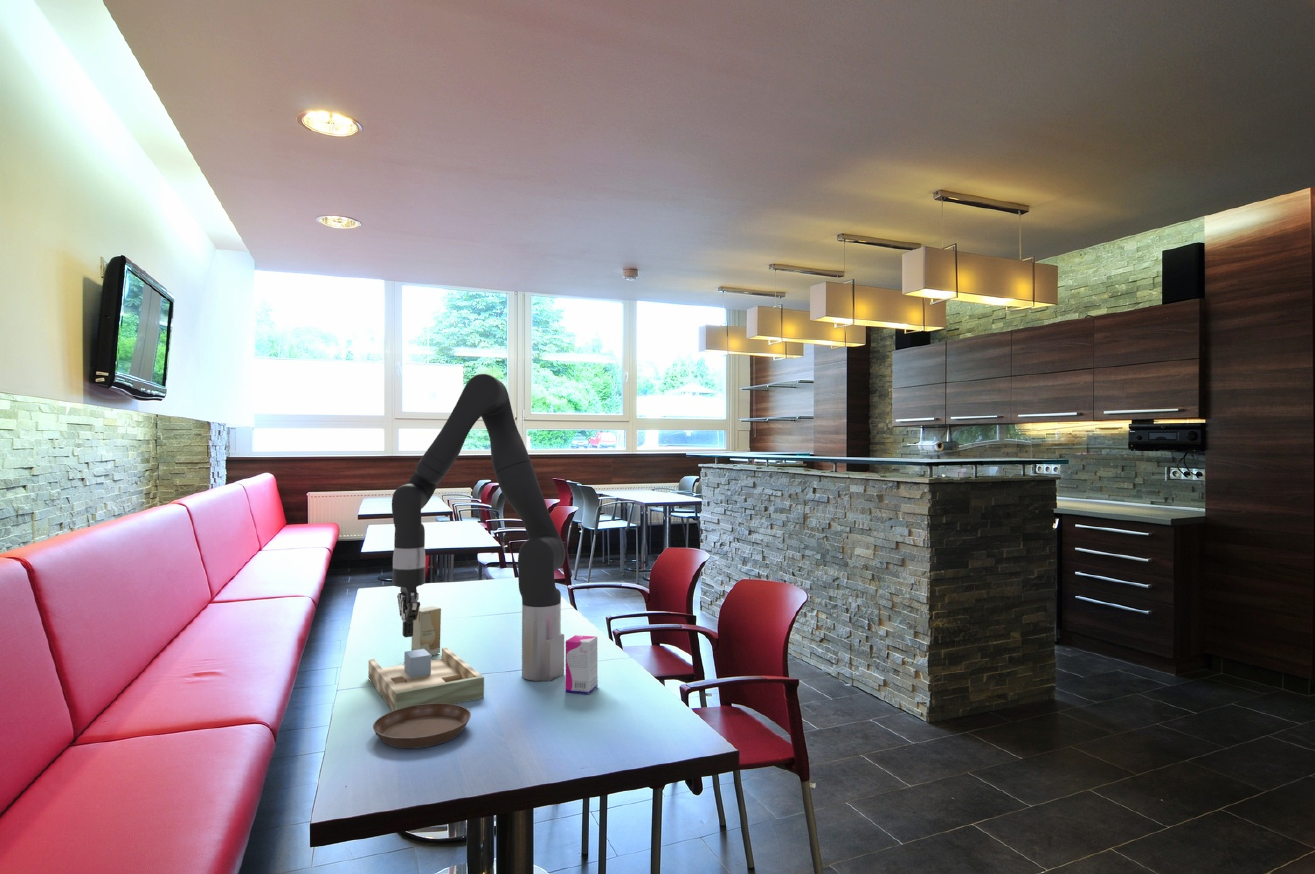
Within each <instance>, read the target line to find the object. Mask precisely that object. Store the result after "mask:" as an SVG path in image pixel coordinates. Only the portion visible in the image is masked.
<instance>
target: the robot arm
mask: <svg viewBox="0 0 1315 874" xmlns="http://www.w3.org/2000/svg"><path fill="white" fill-rule="evenodd" d="M480 418H481V419H482V421H483V424H484V427H486V429H485V430H486V431H487V434H488V437H489V442H490V457H491V458H490V459H491V465H492V469H493V472H494V474H495V475H494V476H495V477H496V481H497V483H498V486H499V489H500V491H501V494H503V497H504V498H505V500H506V501H507V502H508V503H509V505H510V507H512V509H513V510H514V511H515V513H516V514H517V516H518V517H519V518H520V520H521V522H522V524H523V526H524V529H525V532H526V535H527V538H528V539H527V540H526V541H524V542H523V543H522V545H521V546H520V548H519V550H518V556H517V573H518V574H517V577H518V591H519V594H520V596H521V602H522V603H521V677H522V678H523V679H525V680H528V681H535V682H537V681H538V682H539V681H541V682H543V681H547V682H550V681H553V680H555V679H556V678H558V677H560V676H562V675H565V634H564V633H562V630H561V626H562V625H561V621H562V617H561V616H562V615H561V611H562V609H561V607H562V594H561V591H560V589H558V588H557V587H556V584H555V583H556V582H555V572H556V571H557V570H559V569H561V567H562V566H563V565H564V562H565V560H566V548H565V544H564V542H563V540H562V538H561V536H560V534H559V533H560V532H558V530H557V527H556V525H555V523H554V521H553V519H552V516H551V514H550V512H549V509H548V507H547V504H546V500H545V498H544V494H543V492H542V489H541V487H540V484H539V479H538V477H537V474H536V472H535V468H534V466H533V463H532V460H531V458H530V455H529V453H528V450H527V447H526V445H525V443H524V440H523V438H522V436H521V433H520V431H519V429H518V427H517V424H516V421H515V417H514V413H513V409H512V405H511V401H510V396H509V392H508V389H507V387H506V386H505V384H504V383H503V382H502V381H501V380H499V379H498V378H496V377H495V376H493V375H492V374H489V373H478V374H475V375H474V376H472V377H471V378H470V379H468V381H467V382H466V384H465V386H464V388H463V389H462V391H461V394H460V395H459V398H458V400H457V402H456V404H455V406H454V407H453V409H452V411H451V413H450V415H449V416H448V418H447V420H446V422H445V423H444V425H443V427H441V429H440V432H438V434H437V436H436V437H435V439H434V440H433V441H432V442H431V444H430V445H429V447H428V448H427V449H426V451H425V452H424V454H423V455H422V456H421V458H420V460H418V462H417V464H416V466H415V471H414V473H413V475H412V476H411V477H410V478H409V480H408V482H407V483H406V484H403V485H400V486H398V487H397V488H396V489H395V491H394V492H393V495H392V497H391V512H392V520H393V525H394V539H393V540H394V542H393V543H394V545H393V555H392V579H391V580H392V585H393V586H394V587H396V588H400V590H399V591H400V592H398V594H397V596H396V597H397V604H398V610H399V617H400V618H401V621H402V636H403V637H404V638H412V636H413V621H414V620H416V619H417V615H418V611H419V608H421V603H420V601H419V592H418V590H417V587H419V586H423V585H424V584H425V583H426V548H425V543H426V541H425V540H426V538H425V537H426V535H425V534H426V533H425V531H426V530H425V525H424V524H423V523H422V509H424V507H426V505H427V504H428V502H429V501H430V500H431V498H432V496H433V495H434V493H435V491H436V490H437V488H438V485H439V484H440V483H441V481H442V480H443V479H444V477H445V476H446V475H447V473H448V472H449V470H450V469H451V468H452V466H453V465H454V463H455V462H456V460H457V458H458V457H459V455H460V453H461V451H462V448H463V447H464V444H465V442H466V439H467V438H468V435H469V433H470V432H471V429H472V428H473V427H474V425H475V424H476V423H477V421H478V420H479V419H480Z"/></svg>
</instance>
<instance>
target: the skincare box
mask: <svg viewBox="0 0 1315 874" xmlns="http://www.w3.org/2000/svg"><path fill="white" fill-rule="evenodd" d="M441 617H442V608H441V607H438V606H433V605H431V606H425V607H424V606H423V607H420V608H419V611H418V615H417V619H416V620H414V621H413V636H412V637H411V645H410V646H411V649H410V651H413V650H419V649H425V650H426V651H427V652H428V653H429V654H431V657H432V655H433V656H436V655H435V654H437V655H439V654H438V653H440V654H441V631H442V630H441V629H442V628H441V624H442V623H441V622H442V621H441V620H442V619H441Z"/></svg>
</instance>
